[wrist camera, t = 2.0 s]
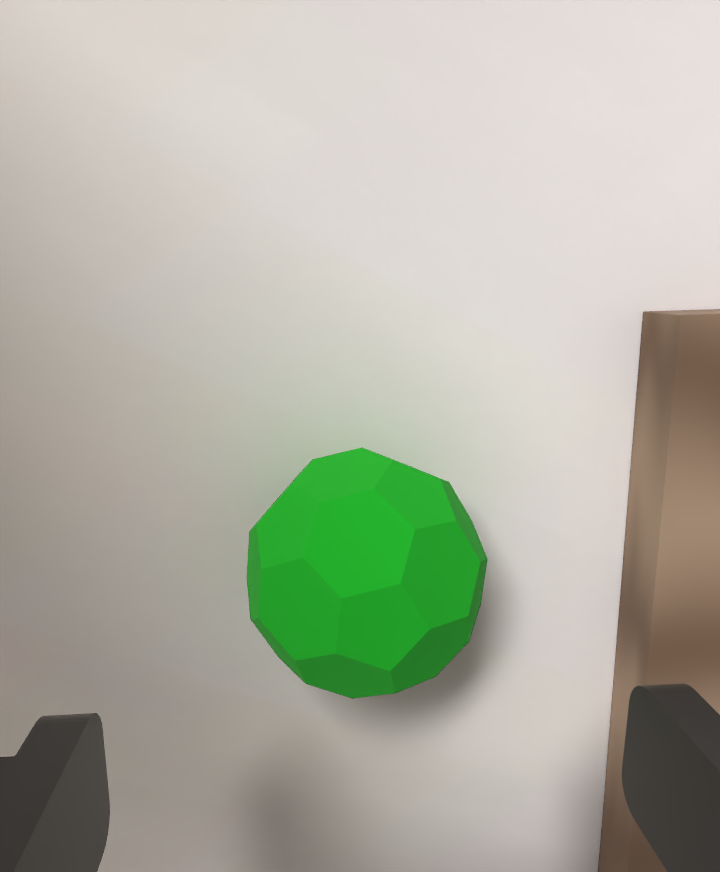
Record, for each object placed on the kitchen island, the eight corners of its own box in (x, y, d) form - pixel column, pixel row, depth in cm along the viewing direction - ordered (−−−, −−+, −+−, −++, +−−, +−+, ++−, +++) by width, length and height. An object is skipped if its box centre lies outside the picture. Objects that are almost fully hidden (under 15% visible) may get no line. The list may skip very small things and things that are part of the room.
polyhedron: (485, 473, 16) (566, 552, 11) (404, 641, 17) (448, 779, 12) (297, 397, 15) (299, 449, 10) (222, 579, 16) (192, 702, 11)
